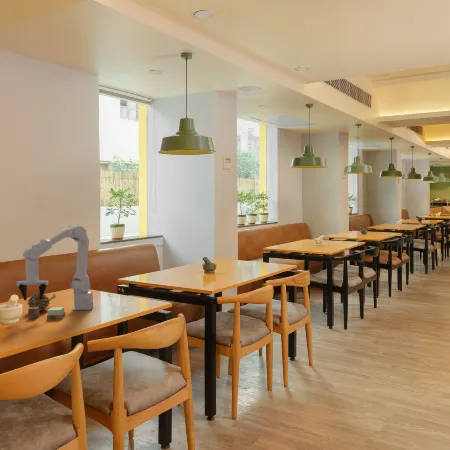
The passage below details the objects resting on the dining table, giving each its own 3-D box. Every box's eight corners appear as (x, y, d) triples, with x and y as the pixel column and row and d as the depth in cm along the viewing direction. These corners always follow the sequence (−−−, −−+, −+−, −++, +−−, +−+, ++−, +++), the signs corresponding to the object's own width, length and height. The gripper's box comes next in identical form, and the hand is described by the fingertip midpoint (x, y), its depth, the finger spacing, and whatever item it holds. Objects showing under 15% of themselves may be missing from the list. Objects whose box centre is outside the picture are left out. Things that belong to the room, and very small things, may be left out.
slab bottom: (65, 316, 242) (65, 311, 242) (61, 320, 235) (61, 315, 235) (51, 317, 241) (50, 312, 241) (47, 320, 234) (46, 315, 234)
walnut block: (39, 316, 240) (39, 306, 240) (37, 318, 236) (36, 308, 236) (31, 317, 240) (30, 307, 240) (28, 319, 236) (28, 309, 236)
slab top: (64, 312, 241) (63, 307, 241) (60, 315, 235) (60, 310, 235) (51, 312, 240) (51, 307, 240) (48, 315, 234) (48, 310, 234)
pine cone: (41, 315, 244) (40, 295, 243) (23, 314, 245) (22, 295, 244) (62, 305, 265) (61, 287, 265) (45, 304, 267) (44, 286, 266)
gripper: (14, 273, 232) (15, 301, 233) (44, 273, 233) (45, 301, 234) (19, 271, 239) (20, 298, 240) (49, 270, 240) (50, 298, 241)
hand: (33, 299), depth 238 cm, fingers open, 7 cm apart
